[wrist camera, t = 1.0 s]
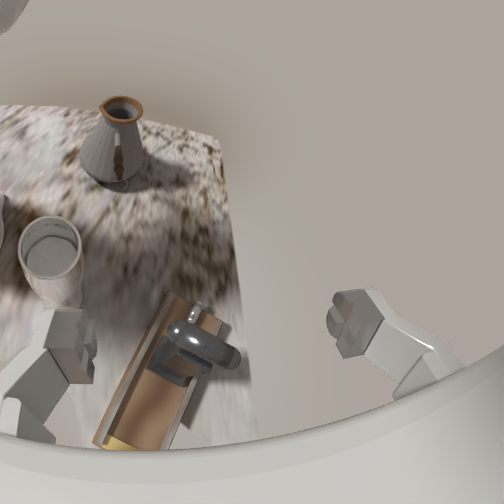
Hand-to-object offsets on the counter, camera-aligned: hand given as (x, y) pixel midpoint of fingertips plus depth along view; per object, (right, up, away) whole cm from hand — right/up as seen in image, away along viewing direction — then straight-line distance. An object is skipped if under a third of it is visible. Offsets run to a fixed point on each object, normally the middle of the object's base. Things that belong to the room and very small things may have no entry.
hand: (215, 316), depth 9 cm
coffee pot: (-22, +12, +35) cm, 44 cm away
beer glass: (-24, -4, +25) cm, 35 cm away
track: (-11, -15, +26) cm, 32 cm away
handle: (-8, -10, +29) cm, 32 cm away
